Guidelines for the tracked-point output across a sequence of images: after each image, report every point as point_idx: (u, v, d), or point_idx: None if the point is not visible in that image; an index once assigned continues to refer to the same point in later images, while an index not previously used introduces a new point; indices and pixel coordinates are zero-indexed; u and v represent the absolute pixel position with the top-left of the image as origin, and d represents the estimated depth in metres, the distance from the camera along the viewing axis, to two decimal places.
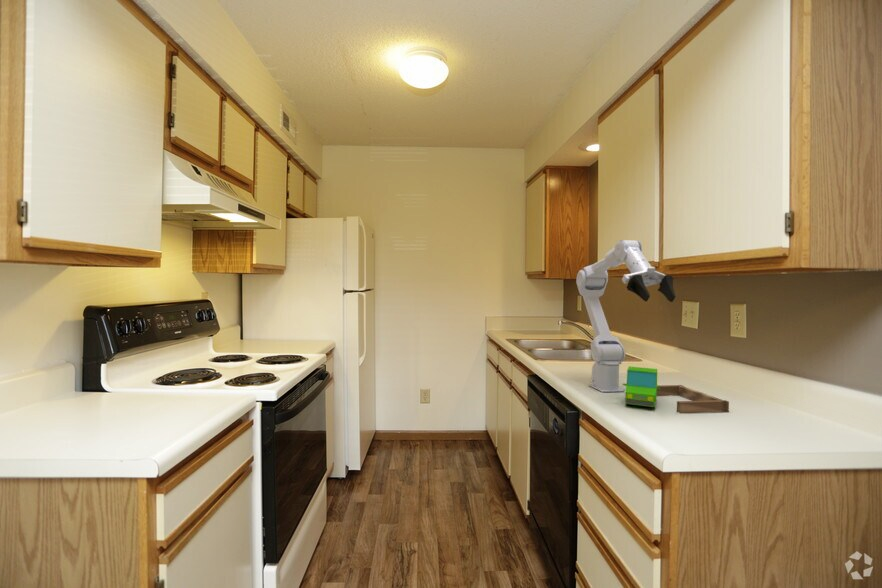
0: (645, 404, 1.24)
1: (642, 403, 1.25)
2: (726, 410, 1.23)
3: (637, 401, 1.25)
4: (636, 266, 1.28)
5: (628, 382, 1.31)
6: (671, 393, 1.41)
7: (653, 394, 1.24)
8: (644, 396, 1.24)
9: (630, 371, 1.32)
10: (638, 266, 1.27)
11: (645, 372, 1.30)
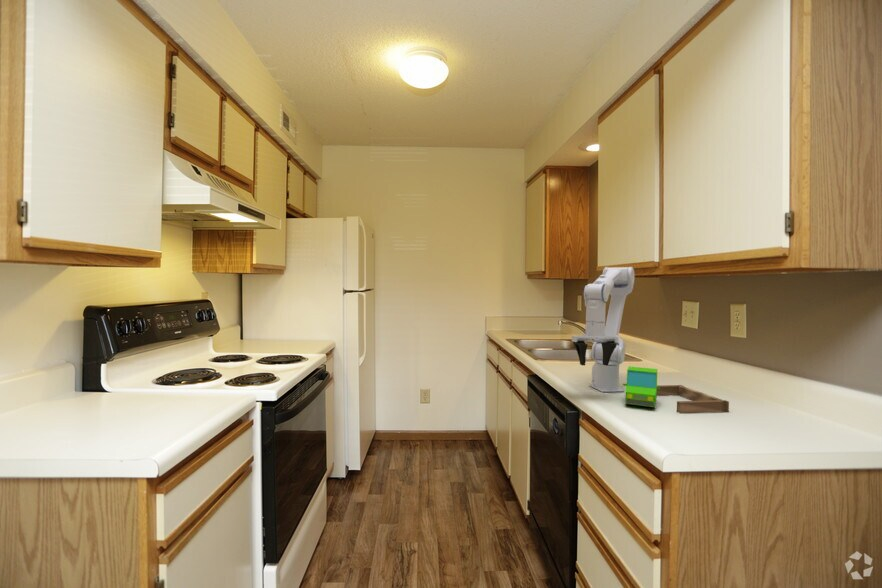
0: (645, 404, 1.24)
1: (642, 403, 1.25)
2: (726, 410, 1.23)
3: (637, 401, 1.25)
4: (590, 326, 1.34)
5: (628, 382, 1.31)
6: (671, 393, 1.41)
7: (653, 394, 1.24)
8: (644, 396, 1.24)
9: (630, 371, 1.32)
10: (591, 328, 1.34)
11: (645, 372, 1.30)
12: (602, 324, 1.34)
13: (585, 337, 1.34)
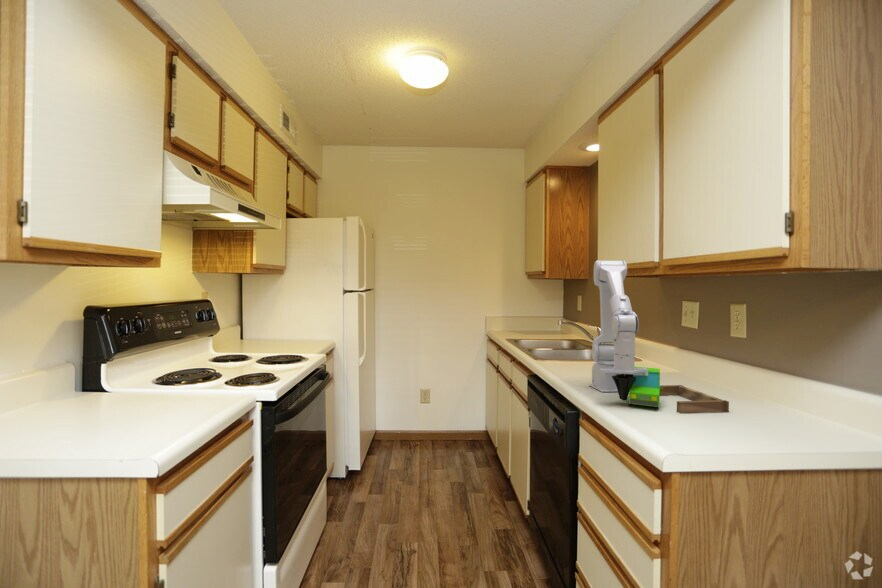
0: (649, 404, 1.24)
1: (646, 403, 1.24)
2: (726, 410, 1.23)
3: (641, 401, 1.25)
4: (619, 360, 1.28)
5: None
6: (671, 393, 1.41)
7: (657, 394, 1.24)
8: (648, 396, 1.24)
9: None
10: (621, 361, 1.27)
11: (648, 372, 1.30)
12: (632, 357, 1.27)
13: (614, 371, 1.27)
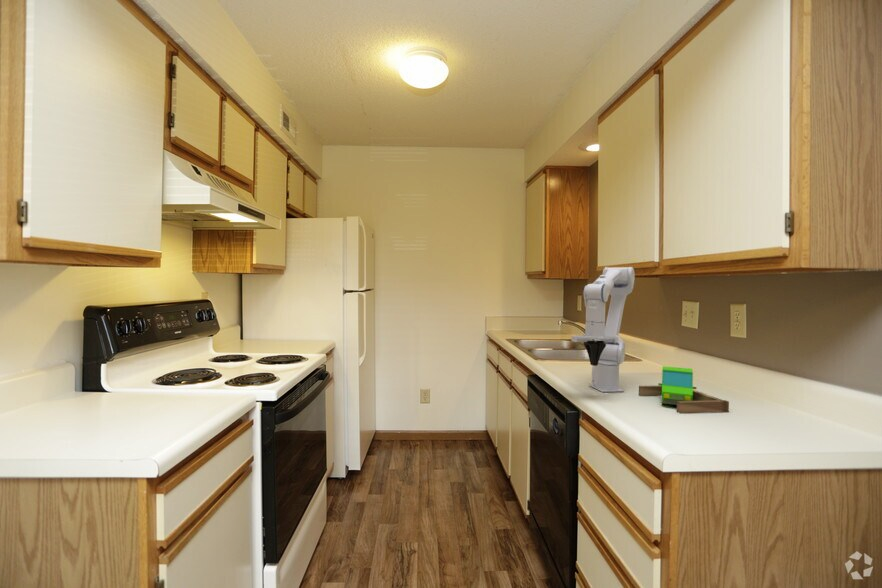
0: None
1: None
2: (726, 410, 1.23)
3: (674, 401, 1.26)
4: (590, 326, 1.34)
5: (663, 382, 1.33)
6: None
7: (690, 394, 1.25)
8: (682, 395, 1.25)
9: (665, 371, 1.33)
10: (591, 328, 1.34)
11: (681, 372, 1.31)
12: (602, 324, 1.34)
13: (585, 337, 1.34)
